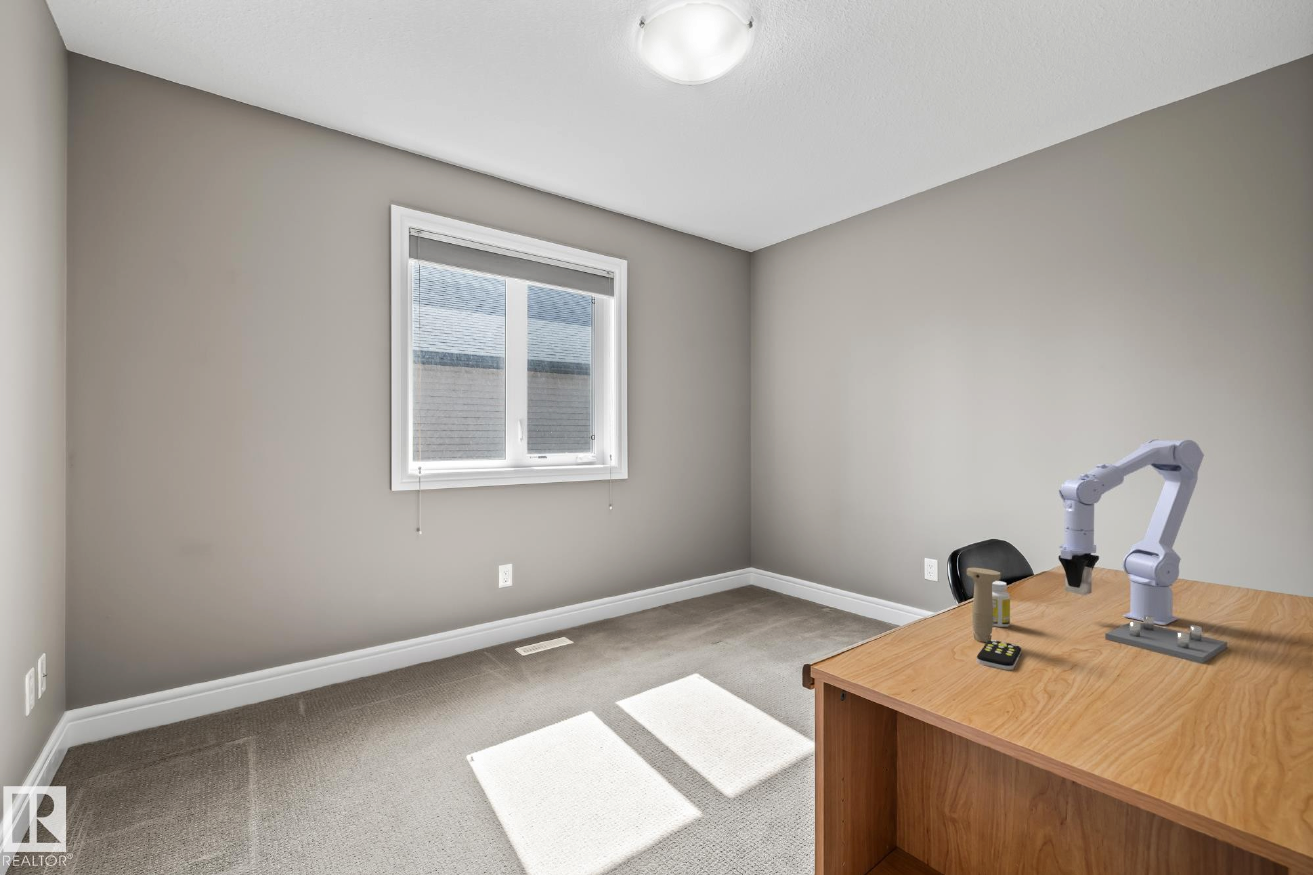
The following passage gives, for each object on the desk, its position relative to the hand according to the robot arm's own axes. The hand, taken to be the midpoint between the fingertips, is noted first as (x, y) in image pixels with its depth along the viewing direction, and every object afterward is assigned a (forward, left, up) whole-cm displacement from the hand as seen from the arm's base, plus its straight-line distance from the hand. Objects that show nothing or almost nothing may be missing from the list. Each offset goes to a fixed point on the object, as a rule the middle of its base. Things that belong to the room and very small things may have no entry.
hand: (1078, 585), depth 141 cm
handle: (+34, -5, -9) cm, 35 cm away
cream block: (0, 0, -2) cm, 2 cm away
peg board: (+2, +17, -8) cm, 19 cm away
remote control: (+41, +2, -9) cm, 42 cm away
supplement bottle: (+20, -9, -9) cm, 24 cm away
